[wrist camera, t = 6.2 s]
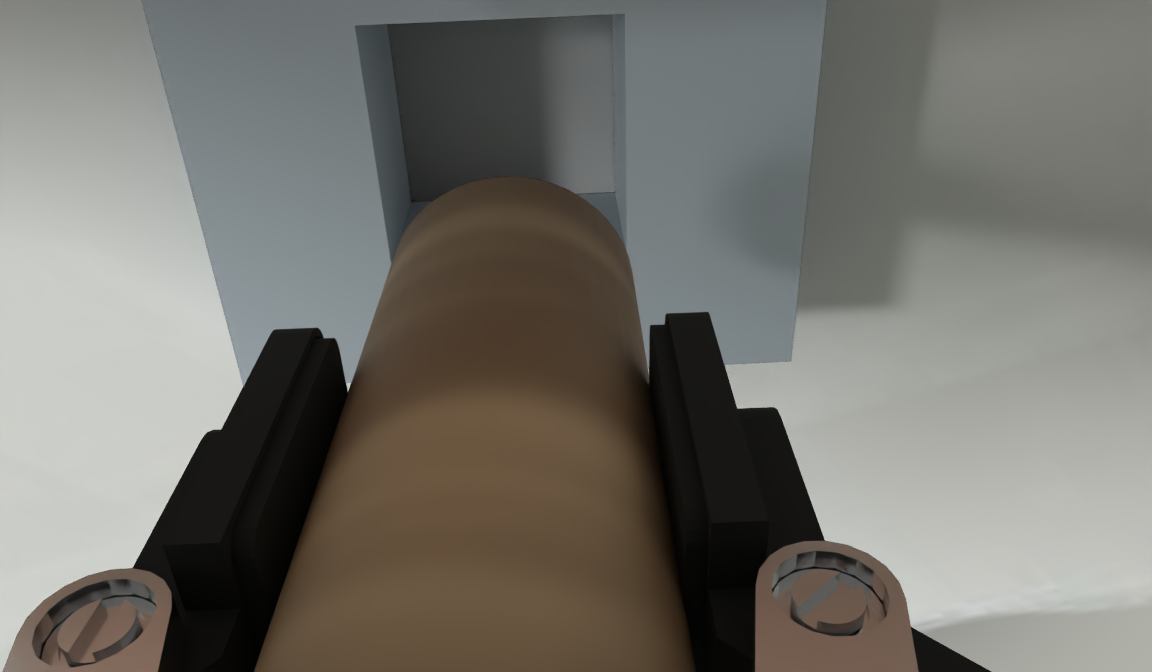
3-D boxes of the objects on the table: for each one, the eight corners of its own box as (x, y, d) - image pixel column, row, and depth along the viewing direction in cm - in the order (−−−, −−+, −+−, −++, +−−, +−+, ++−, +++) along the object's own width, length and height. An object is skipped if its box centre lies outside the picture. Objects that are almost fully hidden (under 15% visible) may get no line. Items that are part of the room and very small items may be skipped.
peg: (374, 181, 14) (-79, 1185, 4) (632, 170, 14) (830, 1149, 4) (407, 395, 16) (160, 1424, 6) (633, 386, 16) (767, 1401, 6)
